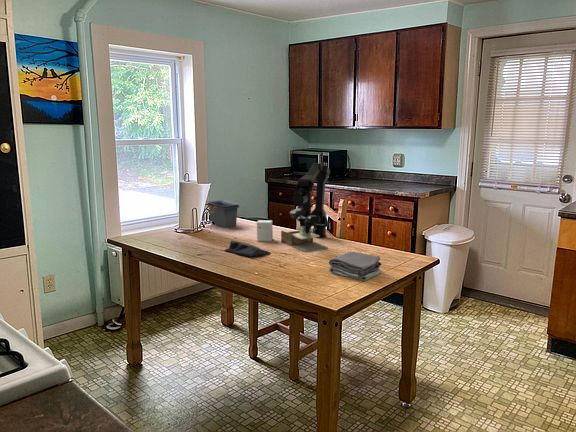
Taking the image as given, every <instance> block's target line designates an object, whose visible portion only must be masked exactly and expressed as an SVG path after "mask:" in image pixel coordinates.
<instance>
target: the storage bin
mask: <svg viewBox="0 0 576 432" xmlns="http://www.w3.org/2000/svg"><path fill="white" fill-rule="evenodd" d="M206 205H207V206H208V208H209V219H210V220H209V221H210V222H211V221H213V222H214V223H215V224H216V226H219V227H221V228H231V227H236V226H237V221H238V219H237V218H238V208H240V203H238V202H233V201H230V200H226V199H217V200H215V199H214V200H208V201H206ZM215 224H214V225H215Z"/></svg>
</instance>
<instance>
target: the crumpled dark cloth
mask: <svg viewBox="0 0 576 432" xmlns="http://www.w3.org/2000/svg"><path fill="white" fill-rule="evenodd" d="M224 251H225V252H229V253H231V254H235V255H241V256H244V257H250V258H252V257H258V256H260V257H261V256H266V255H267V256H268V255H271V254H272V253H271V251H268V250H265V249H262V248H260V247H257V246H255V245H252V244H250V243H245V242H241V241H236V240H231V241H230V244H229V247H228V248H225V249H224Z"/></svg>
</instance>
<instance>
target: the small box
mask: <svg viewBox="0 0 576 432" xmlns="http://www.w3.org/2000/svg"><path fill="white" fill-rule="evenodd" d="M273 231H274V230H273V220H272V219H271V220H269V219H268V220H265V219H264V220H262V219H260V220H257V221H256V241H257V242H272V241H273V239H274V236H273V235H274V233H273Z"/></svg>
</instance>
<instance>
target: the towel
mask: <svg viewBox="0 0 576 432" xmlns="http://www.w3.org/2000/svg"><path fill="white" fill-rule="evenodd" d="M380 260H381V257H380V256H378V255H372V254H367V253H362V252H357V251H348V252H346V253H344V254H340V255H338V256H336V257H333V258H331V259H330V260H329V262H328V264H329V265H330V267H329V273H331V274H333V275H338V276H342V277H346V278H351V279H357V280H359V281H364V282H366V281H368V280H370V279H372V278H374V277H376V276H378V275H380V274H382V273H383V270H382V269H380V267H381V265H382V262H380Z"/></svg>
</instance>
